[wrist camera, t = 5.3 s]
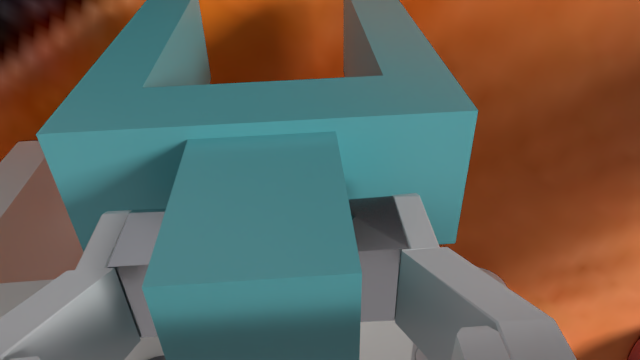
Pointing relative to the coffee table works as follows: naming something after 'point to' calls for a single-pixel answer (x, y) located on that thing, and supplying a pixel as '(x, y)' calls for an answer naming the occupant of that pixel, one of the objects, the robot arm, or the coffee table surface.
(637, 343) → the stacking bear
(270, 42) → the coffee table surface
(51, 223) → the shelf
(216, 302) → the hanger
